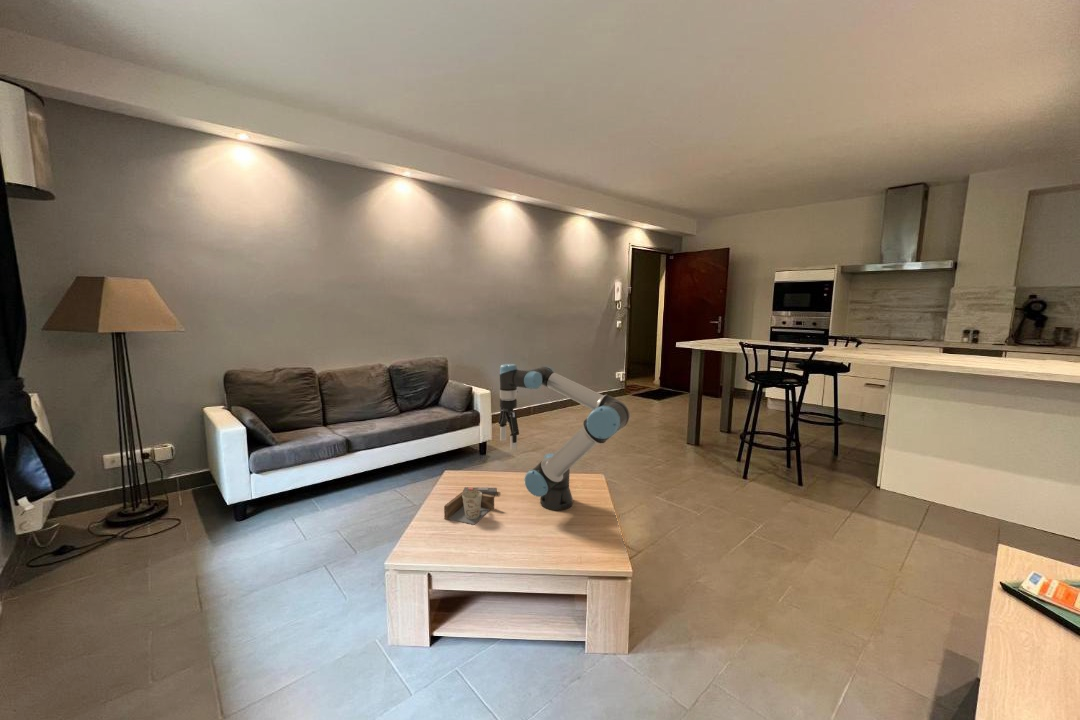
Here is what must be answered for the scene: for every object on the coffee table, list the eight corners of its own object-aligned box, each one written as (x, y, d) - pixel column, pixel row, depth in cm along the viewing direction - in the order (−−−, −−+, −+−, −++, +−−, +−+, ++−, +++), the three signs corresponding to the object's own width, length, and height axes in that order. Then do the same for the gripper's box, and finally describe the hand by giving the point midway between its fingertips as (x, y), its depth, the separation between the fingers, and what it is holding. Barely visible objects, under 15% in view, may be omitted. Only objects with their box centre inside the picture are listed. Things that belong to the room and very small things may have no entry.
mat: (490, 509, 191) (490, 508, 191) (474, 524, 178) (474, 524, 178) (465, 504, 195) (465, 504, 195) (448, 519, 182) (448, 518, 182)
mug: (459, 519, 181) (459, 497, 180) (469, 506, 193) (469, 485, 192) (478, 521, 180) (478, 499, 178) (487, 507, 192) (487, 486, 191)
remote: (497, 491, 210) (496, 486, 209) (495, 495, 205) (495, 490, 205) (464, 491, 210) (464, 486, 210) (463, 495, 206) (462, 490, 205)
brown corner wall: (494, 508, 192) (494, 495, 191) (476, 525, 177) (476, 512, 176) (464, 502, 198) (464, 490, 197) (444, 519, 182) (444, 505, 182)
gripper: (526, 403, 180) (526, 452, 182) (506, 392, 202) (506, 435, 205) (510, 405, 177) (510, 454, 179) (491, 394, 199) (491, 437, 202)
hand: (508, 444), depth 192 cm, fingers open, 13 cm apart
